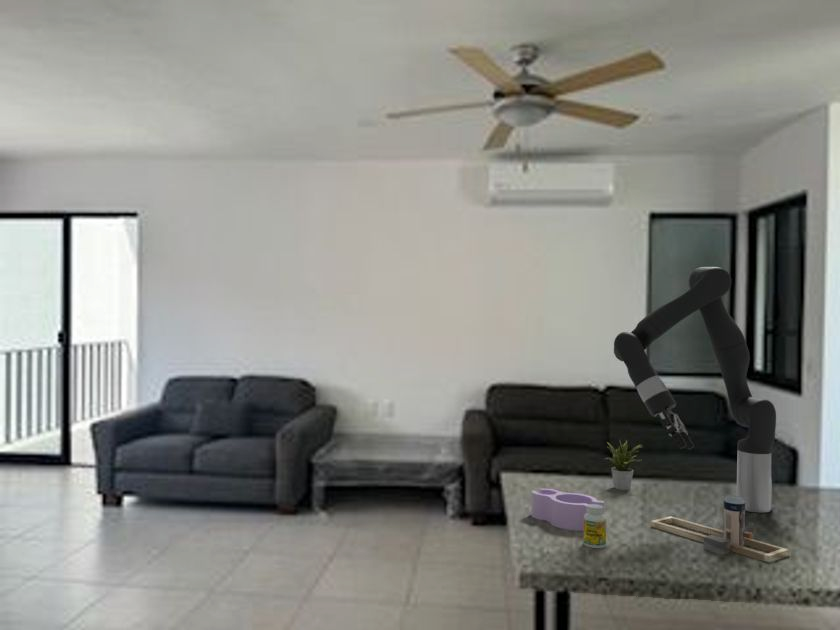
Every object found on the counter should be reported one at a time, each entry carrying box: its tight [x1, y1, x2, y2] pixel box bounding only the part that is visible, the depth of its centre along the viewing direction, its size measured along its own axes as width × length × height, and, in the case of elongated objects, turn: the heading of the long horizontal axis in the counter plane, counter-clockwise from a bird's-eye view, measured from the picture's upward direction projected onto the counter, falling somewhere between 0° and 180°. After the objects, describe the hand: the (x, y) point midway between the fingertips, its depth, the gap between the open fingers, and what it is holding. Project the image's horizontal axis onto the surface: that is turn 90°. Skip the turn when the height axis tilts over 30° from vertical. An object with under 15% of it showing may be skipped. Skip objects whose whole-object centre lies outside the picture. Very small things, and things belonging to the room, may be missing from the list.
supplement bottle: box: [583, 504, 607, 549], centre depth 169 cm, size 5×5×10 cm
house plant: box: [604, 438, 642, 491], centre depth 228 cm, size 14×14×16 cm
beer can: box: [722, 494, 746, 547], centre depth 171 cm, size 5×5×12 cm
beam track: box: [650, 515, 790, 563], centre depth 174 cm, size 15×32×3 cm, turn 35°
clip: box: [530, 488, 605, 532], centre depth 189 cm, size 20×12×7 cm, turn 43°
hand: (687, 448), depth 186 cm, fingers open, 8 cm apart
